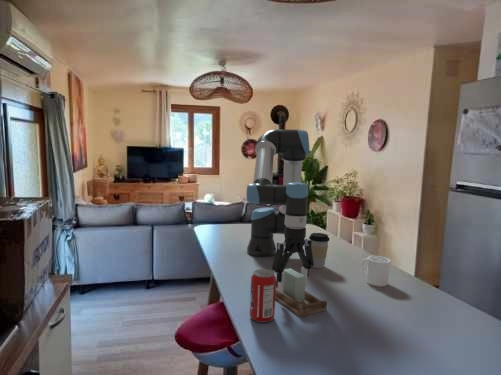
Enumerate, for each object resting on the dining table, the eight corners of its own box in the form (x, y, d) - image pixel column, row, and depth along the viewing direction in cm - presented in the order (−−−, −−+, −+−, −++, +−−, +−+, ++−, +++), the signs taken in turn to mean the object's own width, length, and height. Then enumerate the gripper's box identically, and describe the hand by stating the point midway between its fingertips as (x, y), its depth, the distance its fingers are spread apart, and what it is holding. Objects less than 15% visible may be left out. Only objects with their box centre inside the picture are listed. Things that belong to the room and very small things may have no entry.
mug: (387, 281, 145) (389, 257, 144) (389, 289, 137) (391, 263, 135) (360, 277, 149) (362, 254, 147) (360, 284, 140) (361, 260, 139)
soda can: (266, 326, 104) (268, 279, 102) (244, 319, 108) (246, 273, 106) (278, 316, 111) (280, 271, 109) (257, 310, 115) (259, 266, 113)
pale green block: (281, 293, 126) (282, 269, 125) (289, 291, 128) (290, 268, 127) (296, 303, 119) (297, 278, 118) (304, 301, 120) (305, 276, 119)
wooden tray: (261, 289, 131) (261, 282, 131) (284, 285, 137) (285, 277, 137) (300, 317, 111) (300, 308, 110) (326, 310, 116) (326, 301, 116)
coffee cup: (328, 270, 155) (330, 238, 154) (307, 268, 157) (308, 236, 156) (327, 263, 165) (329, 233, 163) (307, 262, 166) (309, 231, 165)
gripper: (275, 231, 112) (272, 297, 115) (326, 226, 123) (322, 286, 126) (263, 226, 119) (260, 289, 121) (312, 222, 130) (309, 279, 132)
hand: (292, 287), depth 123 cm, fingers open, 9 cm apart
